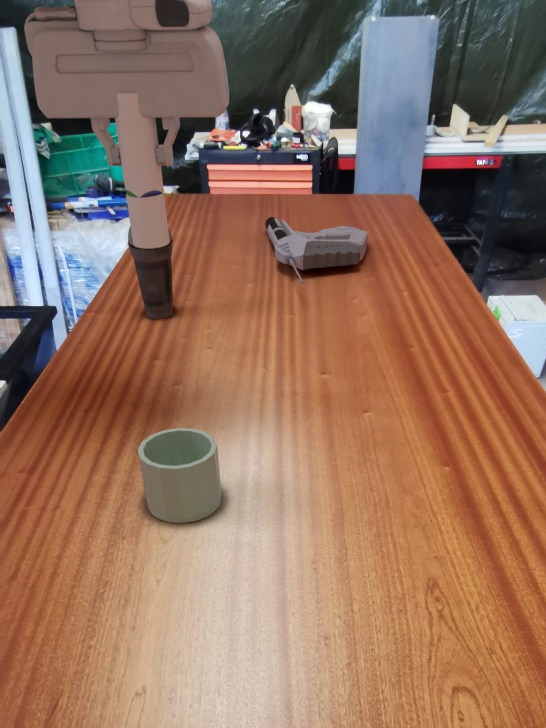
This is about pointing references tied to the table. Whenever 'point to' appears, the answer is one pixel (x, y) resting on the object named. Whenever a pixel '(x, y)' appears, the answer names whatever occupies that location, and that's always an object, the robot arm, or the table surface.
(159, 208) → the tube
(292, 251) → the power tool
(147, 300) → the beverage cup
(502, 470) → the table surface
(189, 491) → the pale green hollow cylinder
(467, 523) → the table surface
